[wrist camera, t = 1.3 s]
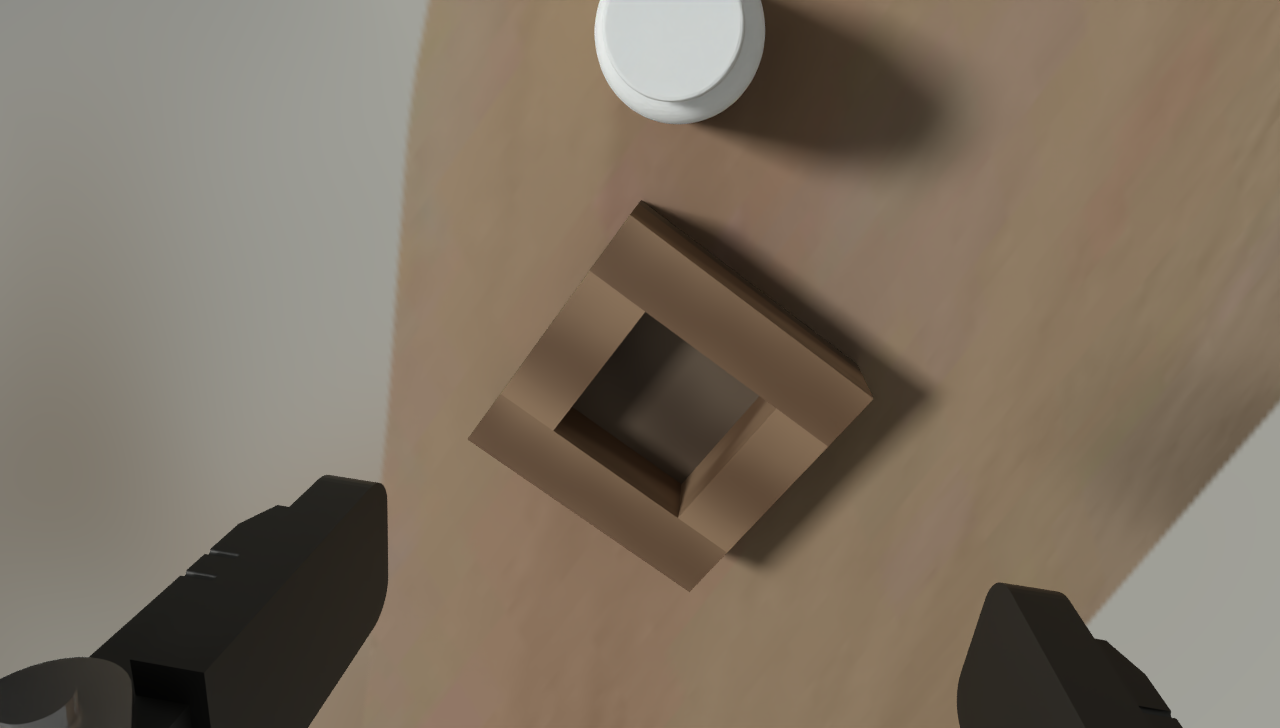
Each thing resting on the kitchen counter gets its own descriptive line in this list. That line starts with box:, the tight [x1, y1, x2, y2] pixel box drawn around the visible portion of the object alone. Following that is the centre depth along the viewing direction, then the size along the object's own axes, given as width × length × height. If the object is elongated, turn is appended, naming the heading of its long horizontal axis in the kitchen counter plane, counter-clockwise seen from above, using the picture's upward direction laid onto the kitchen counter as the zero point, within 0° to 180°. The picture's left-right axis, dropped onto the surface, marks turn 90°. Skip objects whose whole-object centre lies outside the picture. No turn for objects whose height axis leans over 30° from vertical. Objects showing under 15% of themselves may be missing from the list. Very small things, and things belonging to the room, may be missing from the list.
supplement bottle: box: [595, 0, 765, 124], centre depth 25 cm, size 5×5×10 cm
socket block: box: [468, 201, 874, 592], centre depth 33 cm, size 12×12×4 cm
